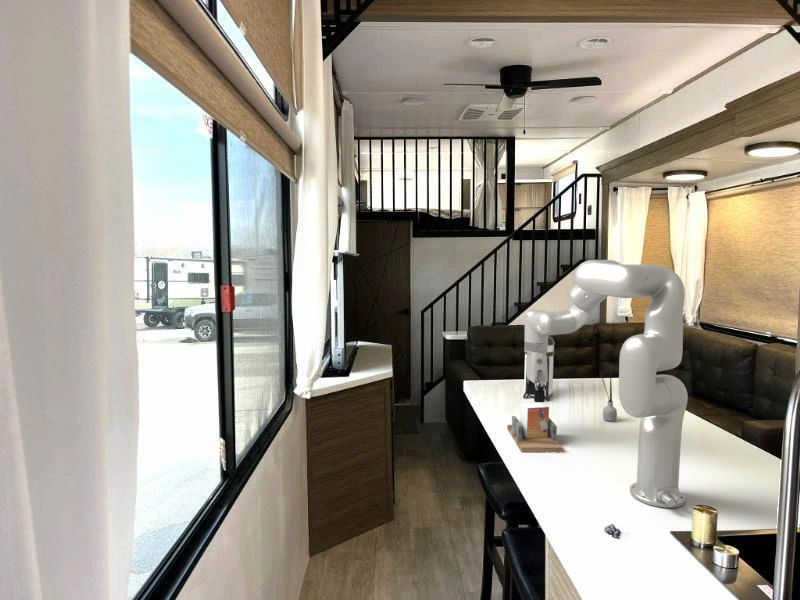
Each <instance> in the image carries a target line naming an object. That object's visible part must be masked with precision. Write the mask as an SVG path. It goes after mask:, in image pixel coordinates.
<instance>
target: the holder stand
mask: <svg viewBox="0 0 800 600" xmlns="http://www.w3.org/2000/svg"><path fill="white" fill-rule="evenodd" d="M506 428H507V431H508V432H509V434H510V436H511V438H512V439H513V440H514V442H515V444H516V446H517V447H518V449H519V452H521V453H546V452H549V453H551V452H556V454H557V453H560V452H563V453H564V451H563V450H564V448H563V446H562V445H561V444H560V442H558V440H557V435H558V434H557V430H558V429H557V428H558V427H557V424H556V423H554V422H553V420H552V419H551V418H550V417H549V423H548V437H547V438H528V439H527V438H525V437H524V436H522V425H521V423H520V419H518V418H517V416H514V415H513V416H512V417H511V424H507V425H506Z"/></svg>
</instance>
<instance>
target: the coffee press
mask: <svg viewBox="0 0 800 600" xmlns="http://www.w3.org/2000/svg"><path fill="white" fill-rule="evenodd" d="M555 344H556V342H555V341H554V338H553V337H551V335H548V352H547V353H546V356H547V373H548V382H547V383H544V384H545V386H544V387H545V401H546V400H547V401H546V402H551V397H552V396H553V386H554V385H553V383H554V381H553V379H554V377H553V376H554V356H555V350H554V349H555ZM526 361H527V352H525V351H524V385H523V386H524V387H523V392H524V394H523V396H522V397H523V398H524V399H525V397H526V398H527V399H528V398H529V397H530V396H531V397H534V395H528V394H527V375H526ZM537 386H538V384H537ZM551 395H552V396H551Z"/></svg>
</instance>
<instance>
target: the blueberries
mask: <svg viewBox="0 0 800 600" xmlns="http://www.w3.org/2000/svg"><path fill="white" fill-rule="evenodd" d="M603 530H604V533H606V534H607V535H608V536H611V538H613V539H618V540H620V535H621V533H622V532H621V530H620V529H619V528H617V527H616V526H615V525H614V524H613V523H611V524H608V525H606V526H605V527H604V529H603Z"/></svg>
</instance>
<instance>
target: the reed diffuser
mask: <svg viewBox="0 0 800 600" xmlns="http://www.w3.org/2000/svg"><path fill="white" fill-rule="evenodd" d="M598 370H599V375H600V377H601V379H602V383H603V387H604V390H605V392H606V397H607V398H608V401H607V404H606V406H605V407H603V409H602V419H603V420H605V421H610V422H612V421H613V422H614V421H616V420H617V419H618V412H617V411H618V410H617V408H615V406H614V401H613V394H612V393H613V392H612V391H613V390H612V389H613V388H612V367H610V368H609V371H610V372H609V373H610V374H609V375H610V376H609V380H610V381H609V394H608V391H607V388H606V387H607V386H606V384H605V381H604V378H603V375H602V372H601V369H598Z"/></svg>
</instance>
